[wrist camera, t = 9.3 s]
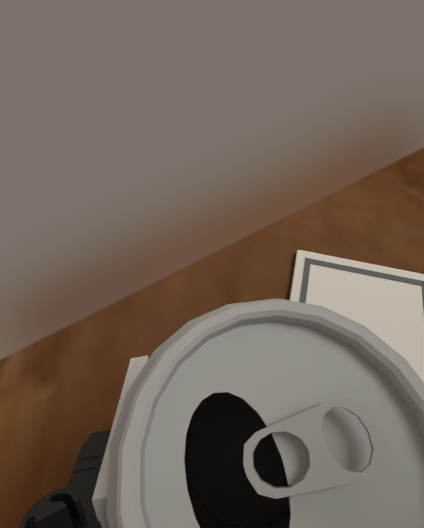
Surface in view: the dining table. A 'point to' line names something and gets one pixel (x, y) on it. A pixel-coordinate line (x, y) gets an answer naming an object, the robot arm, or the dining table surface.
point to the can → (270, 426)
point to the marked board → (367, 299)
